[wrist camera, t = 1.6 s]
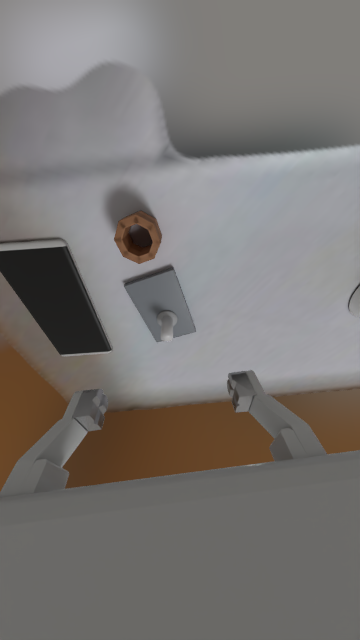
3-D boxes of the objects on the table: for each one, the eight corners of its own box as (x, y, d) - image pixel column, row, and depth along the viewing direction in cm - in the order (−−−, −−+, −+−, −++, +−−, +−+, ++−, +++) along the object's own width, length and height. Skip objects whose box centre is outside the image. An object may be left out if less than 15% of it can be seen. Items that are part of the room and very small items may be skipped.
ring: (151, 206, 26) (148, 209, 22) (165, 245, 29) (165, 254, 25) (116, 220, 27) (106, 225, 23) (134, 257, 30) (128, 267, 26)
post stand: (173, 267, 32) (174, 284, 26) (195, 328, 41) (199, 350, 35) (125, 283, 33) (116, 303, 27) (157, 339, 43) (155, 362, 37)
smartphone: (68, 237, 28) (62, 240, 27) (114, 348, 45) (112, 353, 43) (-12, 243, 28) (-21, 245, 27) (64, 352, 45) (60, 357, 43)
